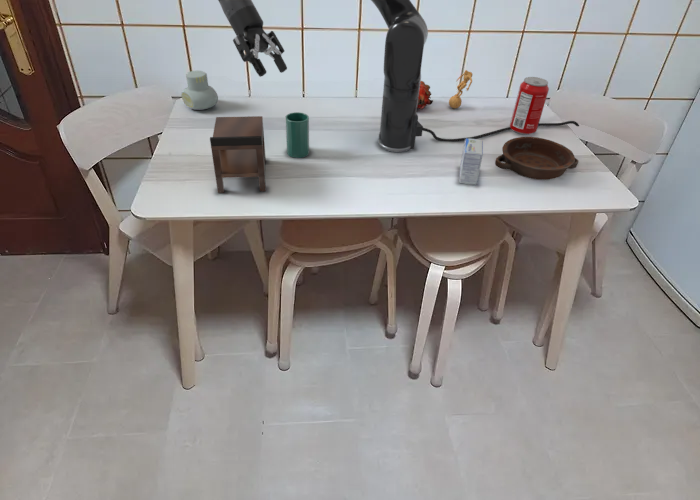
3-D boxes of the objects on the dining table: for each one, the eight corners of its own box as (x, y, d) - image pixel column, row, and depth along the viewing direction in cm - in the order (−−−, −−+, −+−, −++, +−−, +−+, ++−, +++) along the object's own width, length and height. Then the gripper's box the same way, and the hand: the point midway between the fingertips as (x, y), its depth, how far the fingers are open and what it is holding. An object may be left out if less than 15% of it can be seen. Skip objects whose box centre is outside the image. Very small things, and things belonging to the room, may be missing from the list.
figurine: (443, 103, 163) (449, 65, 155) (460, 102, 164) (467, 65, 156) (453, 113, 156) (460, 75, 149) (471, 112, 158) (478, 74, 150)
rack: (265, 160, 129) (261, 109, 120) (265, 191, 118) (261, 137, 109) (222, 161, 128) (215, 109, 119) (217, 193, 116) (209, 138, 108)
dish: (482, 153, 137) (486, 136, 134) (558, 151, 139) (564, 135, 136) (505, 187, 123) (510, 169, 120) (589, 184, 126) (596, 167, 123)
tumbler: (308, 147, 135) (307, 112, 129) (309, 157, 131) (309, 121, 125) (286, 147, 135) (285, 112, 128) (287, 158, 130) (285, 122, 124)
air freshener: (180, 103, 154) (174, 71, 148) (204, 97, 158) (199, 65, 152) (197, 115, 148) (192, 82, 142) (222, 108, 152) (218, 76, 146)
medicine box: (476, 185, 123) (483, 154, 118) (458, 183, 124) (464, 151, 118) (476, 170, 129) (483, 139, 124) (459, 167, 130) (465, 137, 125)
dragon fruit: (415, 103, 166) (419, 123, 157) (396, 88, 161) (400, 109, 153) (433, 84, 161) (439, 104, 153) (414, 69, 157) (419, 89, 149)
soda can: (508, 134, 147) (522, 83, 137) (508, 123, 153) (521, 74, 143) (536, 138, 145) (551, 87, 136) (535, 126, 151) (549, 77, 142)
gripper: (230, 4, 117) (265, 68, 119) (268, 3, 128) (300, 62, 130) (212, 23, 121) (246, 84, 123) (250, 21, 132) (281, 77, 134)
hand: (274, 72), depth 127 cm, fingers open, 8 cm apart
